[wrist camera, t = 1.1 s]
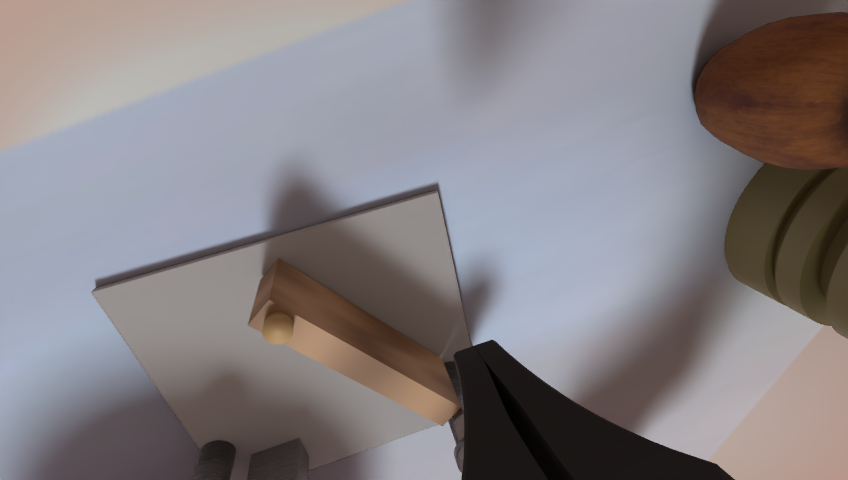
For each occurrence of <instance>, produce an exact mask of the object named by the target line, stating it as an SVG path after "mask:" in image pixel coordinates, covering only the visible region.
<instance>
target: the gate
mask: <svg viewBox="0 0 848 480" xmlns="http://www.w3.org/2000/svg"><path fill="white" fill-rule="evenodd" d="M248 326H250V327H252V328H253V329H255V330H257V331H259V332H261V333H262V335H263V337H264V339H265V340H266V341H267V342H269V343H272V344H284V345H286V346H288V347H290V348H292V349H294V350H296V351H298V352H300V353H302V354H304V355H306V356H308V357H310V358H312V359H313V360H315V361H317V362H319V363H321V364H323V365H325V366H327V367H329V368H331V369H333V370H335V371H337V372H339V373H341V374H343V375H344V376H346V377H348V378H350V379H352V380H354V381H356V382H358V383H360V384H362V385H364V386H366V387H368V388H370V389H372V390H373V391H375V392H377V393H379V394H381V395H383V396H385V397H387V398H389V399H391V400H393V401H395V402H397V403H399V404H401V405H403V406H404V407H406V408H408V409H410V410H412V411H414V412H416V413H418V414H420V415H422V416H424V417H426V418H428V419H430V420H432V421H433V422H435V423H437V424H439V425H441V426H443V425H444V424H445V423H446V422H447V421H448V420H449V419H450V418H451V417H452V416H453V415H454V414H455V413H456V412H457V411H458V410H459V409H460V408H461V405H460V403H459V400H458V398H457V395H456V393H455V390H454V388H453V385H452V383H451V380H450V378H449V375H448V373H447V370H446V368H445V365H444V363H443V360H442V358H440V357H439V356H437V355H435V354H434V353H432V352H430V351H429V350H427V349H426V348H424V347H422V346H421V345H419V344H417V343H416V342H414V341H413V340H411V339H409V338H408V337H406V336H404V335H403V334H401V333H400V332H398V331H396V330H395V329H393V328H391V327H390V326H388V325H387V324H385V323H383V322H382V321H380V320H378V319H377V318H375V317H373V316H372V315H370V314H369V313H367V312H365V311H364V310H362V309H360V308H359V307H357V306H356V305H354V304H352V303H351V302H349V301H347V300H346V299H344V298H343V297H341V296H339V295H338V294H336V293H334V292H333V291H331V290H330V289H328V288H326V287H325V286H323V285H321V284H320V283H318V282H317V281H315V280H313V279H312V278H310V277H308V276H307V275H305V274H304V273H302V272H300V271H299V270H297V269H295V268H294V267H292V266H290V265H289V264H287V263H286V262H284V261H282V260H281V259H279V258H278V259H277V260H276V261H275V263H274V264H273V265H272V266H271V267H270V269H269V270H268V271H267V272H266V273H265V275H264V276H263V277H262V278H261V280H260V283H259V286H258V290H257V293H256V297H255V301H254V304H253V308H252V311H251V315H250V318H249V322H248Z"/></svg>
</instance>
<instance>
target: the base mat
mask: <svg viewBox="0 0 848 480" xmlns="http://www.w3.org/2000/svg"><path fill="white" fill-rule="evenodd" d="M278 258H279V259H281V260H282V261H284V262H286V263H287V264H289V265H290V266H292V267H294V268H295V269H297V270H299V271H300V272H302V273H304V274H305V275H307V276H308V277H310V278H312V279H313V280H315V281H317V282H318V283H320V284H321V285H323V286H325V287H326V288H328V289H330V290H331V291H333V292H334V293H336V294H338V295H339V296H341V297H343V298H344V299H346V300H347V301H349V302H351V303H352V304H354V305H356V306H357V307H359V308H360V309H362V310H364V311H365V312H367V313H369V314H370V315H372V316H373V317H375V318H377V319H378V320H380V321H382V322H383V323H385V324H387V325H388V326H390V327H391V328H393V329H395V330H396V331H398V332H400V333H401V334H403V335H404V336H406V337H408V338H409V339H411V340H413V341H414V342H416V343H417V344H419V345H421V346H422V347H424V348H426V349H427V350H429V351H430V352H432V353H434V354H435V355H437V356H439V357H440V358H442V360H443V363H445V362H449V361H454V357H453V355H454V354H455V353H456V352H457V351H460V350H463V349H466V348H469V347H471V344H470V339H469V335H468V330H467V325H466V321H465V316H464V311H463V307H462V302H461V297H460V293H459V288H458V283H457V279H456V274H455V269H454V265H453V260H452V255H451V251H450V246H449V241H448V237H447V232H446V227H445V223H444V218H443V213H442V209H441V204H440V199H439V195H438V192H437V191H436V190H435V191H431V192H428V193H424V194H421V195H417V196H414V197H410V198H407V199H403V200H400V201H396V202H393V203H389V204H386V205H383V206H379V207H376V208H372V209H369V210H365V211H362V212H358V213H355V214H351V215H348V216H344V217H341V218H337V219H334V220H330V221H327V222H323V223H320V224H317V225H313V226H310V227H306V228H303V229H299V230H296V231H292V232H289V233H285V234H282V235H278V236H275V237H271V238H268V239H264V240H261V241H258V242H254V243H251V244H247V245H244V246H240V247H237V248H233V249H230V250H226V251H223V252H219V253H216V254H212V255H209V256H205V257H202V258H198V259H195V260H192V261H188V262H185V263H181V264H178V265H174V266H171V267H167V268H164V269H160V270H157V271H153V272H150V273H146V274H143V275H139V276H136V277H132V278H129V279H126V280H122V281H119V282H115V283H112V284H108V285H105V286H101V287H98V288H95V289H94V290H93V291H92V292H91V293H92V295H93V296H94V297H95V299H96V300H97V302H98V303H99V305H100V306H101V308H102V309H103V311H104V312H105V313H106V315H107V316H108V318H109V319H110V321H111V322H112V324H113V325H114V326H115V328H116V329H117V331H118V332H119V334H120V335H121V337H122V338H123V340H124V341H125V342H126V344H127V345H128V347H129V348H130V350H131V351H132V353H133V354H134V355H135V357H136V358H137V360H138V361H139V363H140V364H141V366H142V367H143V369H144V370H145V371H146V373H147V374H148V376H149V377H150V379H151V380H152V382H153V383H154V384H155V386H156V387H157V389H158V390H159V392H160V393H161V395H162V396H163V398H164V399H165V400H166V402H167V403H168V405H169V406H170V408H171V409H172V411H173V412H174V413H175V415H176V416H177V418H178V419H179V421H180V422H181V424H182V425H183V427H184V428H185V429H186V431H187V432H188V434H189V435H190V437H191V438H192V440H193V441H194V442H195V444H196V445H197V447H198V448H199V450H201V448H202V447H203V446H204V445H205V444H207V443H208V442H211V441H215V440H224V441H228V442H230V443H232V444H233V445H234V446H235V448H236V456H235V460H234V465H233V469H232V474H231V478H230V480H247V476H248V470H249V465H250V459H251V454H253V453H256V452H259V451H262V450H265V449H268V448H271V447H274V446H277V445H280V444H282V443H285V442H288V441H291V440H294V439H297V438H300V439H301V441H302V443H303V445H304V447H305V449H306V451H307V453H308V455H309V470H312V469H314V468H317V467H320V466H323V465H326V464H329V463H331V462H334V461H337V460H340V459H343V458H345V457H348V456H351V455H354V454H357V453H360V452H362V451H365V450H368V449H371V448H374V447H377V446H379V445H382V444H385V443H388V442H391V441H393V440H396V439H399V438H402V437H405V436H408V435H410V434H413V433H416V432H419V431H422V430H424V429H427V428H430V427H433V426H436V425H439V424H437V423H435V422H433V421H432V420H430V419H428V418H426V417H424V416H422V415H420V414H418V413H416V412H414V411H412V410H410V409H408V408H406V407H404V406H403V405H401V404H399V403H397V402H395V401H393V400H391V399H389V398H387V397H385V396H383V395H381V394H379V393H377V392H375V391H373V390H372V389H370V388H368V387H366V386H364V385H362V384H360V383H358V382H356V381H354V380H352V379H350V378H348V377H346V376H344V375H343V374H341V373H339V372H337V371H335V370H333V369H331V368H329V367H327V366H325V365H323V364H321V363H319V362H317V361H315V360H313V359H312V358H310V357H308V356H306V355H304V354H302V353H300V352H298V351H296V350H294V349H292V348H290V347H288V346H286V345H284V344H272V343H269V342H267V341H266V340H265V339H264V337H263V335H262V333H261V332H259V331H257V330H255V329H253V328H252V327H250V326H248V322H249V318H250V315H251V311H252V308H253V304H254V301H255V297H256V293H257V290H258V286H259V283H260V280H261V278H262V277H263V276H264V275H265V273H266V272H267V271H268V270H269V269H270V267H271V266H272V265H273V264H274V263H275V261H276V260H277V259H278ZM454 362H455V361H454Z"/></svg>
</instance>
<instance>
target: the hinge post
mask: <svg viewBox="0 0 848 480" xmlns="http://www.w3.org/2000/svg"><path fill="white" fill-rule="evenodd" d="M444 365H445V368H446V370H447V373H448V375H449V378H450V380H451V383H452V385H453V388H454V390H455V393H456V395H457V398H458V400H459V403H460V405H461V408H460V409H459V410H458V411H457V412H456V413H455V414H454V415H453V416H452V417H451V418H450V419H449V420H448V422H449V424H450V427H451V430H452V433H453V436H454V439H455V442H456V444H457V445H456V447H455V450H454V456H455V459H456V462H457V465H458V468H459V470H460V471H461V472H462V470H463V456H464V405H463V395H462V390H461V386H460V382H459V378H458V373H457V369H456V365H455V362H454V361H449V362H445V363H444Z"/></svg>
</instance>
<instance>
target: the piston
mask: <svg viewBox="0 0 848 480" xmlns="http://www.w3.org/2000/svg"><path fill="white" fill-rule="evenodd" d="M725 258H726V262H727V265H728V268H729V270H730V271H731V273H732V274H733V276H734V277H735V278H736V279H737V280H739V281H740V282H742V283H744V284H745V285H747V286H749V287H751V288H753V289H755V290H757V291H759V292H761V293H762V294H764V295H766V296H768V297H770V298H772V299H774V300H776V301H777V302H779V303H781V304H783V305H786V306H788V307H789V308H791V309H793V310H794V311H796V312H798V313H800V314H802V315H804V316H806V317H808V318H810V319H811V320H813V321H815V322H817V323H820V324H823V325H827V326H832V327H833V329H834V330H835V331H836V332H837V333H839V334H840V335H842V336H844V337H845V338H847V339H848V167H842V168H831V169H812V170H802V169H794V168H786V167H780V166H776V165H772V164H768V163H766V164H765V165H764V166H763V167H762V168H761V169H760V170H759V171H758V172H757V174H756V175H755V176H754V177H753V178H752V180H751V181H750V182H749V184H748V185H747V187H746V188H745V190H744V191H743V193H742V194H741V196H740V198H739V199H738V201H737V203H736V205H735V207H734V210H733V212H732V214H731V217H730V220H729V223H728V226H727V230H726V236H725Z"/></svg>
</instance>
